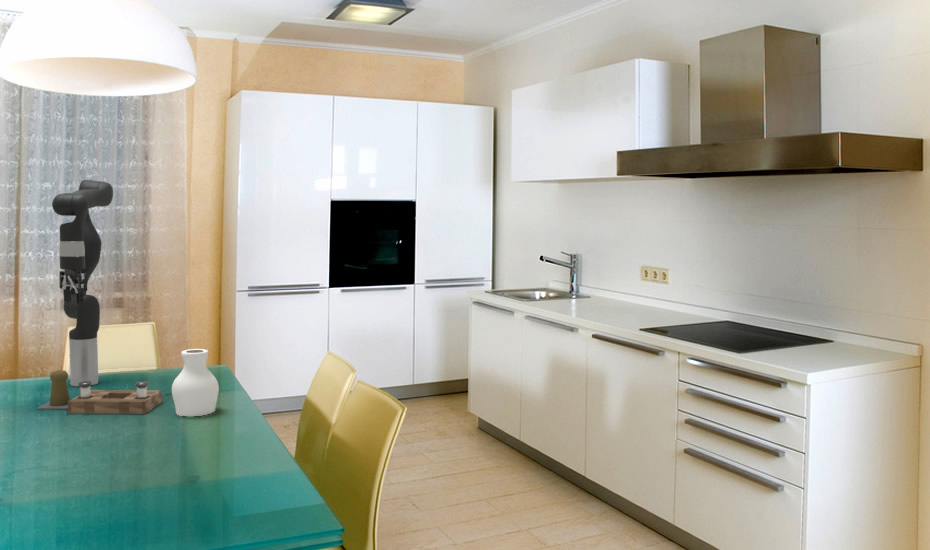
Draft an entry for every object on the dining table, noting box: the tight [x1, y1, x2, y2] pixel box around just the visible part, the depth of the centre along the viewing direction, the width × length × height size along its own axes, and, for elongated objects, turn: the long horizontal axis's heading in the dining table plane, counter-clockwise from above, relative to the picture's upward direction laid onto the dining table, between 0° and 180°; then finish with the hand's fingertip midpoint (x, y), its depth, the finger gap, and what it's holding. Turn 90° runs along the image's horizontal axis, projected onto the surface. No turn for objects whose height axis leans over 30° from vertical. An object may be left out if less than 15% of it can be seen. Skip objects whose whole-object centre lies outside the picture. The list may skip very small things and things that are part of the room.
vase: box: [171, 348, 220, 417], centre depth 244 cm, size 14×14×20 cm
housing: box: [67, 389, 163, 415], centre depth 248 cm, size 15×24×4 cm, turn 93°
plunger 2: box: [134, 381, 149, 399], centre depth 246 cm, size 4×4×8 cm
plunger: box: [78, 381, 93, 399], centre depth 245 cm, size 4×4×8 cm
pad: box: [36, 400, 68, 411], centre depth 249 cm, size 10×10×1 cm
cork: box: [49, 369, 71, 406], centre depth 249 cm, size 6×6×11 cm
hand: (73, 303), depth 253 cm, fingers open, 8 cm apart
